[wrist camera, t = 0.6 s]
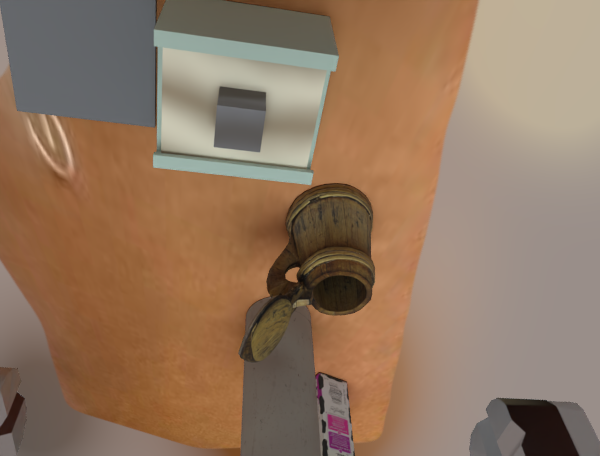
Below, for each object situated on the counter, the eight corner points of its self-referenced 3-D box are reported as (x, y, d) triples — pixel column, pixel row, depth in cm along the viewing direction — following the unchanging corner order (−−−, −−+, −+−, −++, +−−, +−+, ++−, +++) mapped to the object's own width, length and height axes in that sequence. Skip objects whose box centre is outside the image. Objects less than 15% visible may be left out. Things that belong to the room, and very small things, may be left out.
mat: (-6, -46, 43) (-8, -45, 43) (156, -21, 45) (155, -19, 45) (18, 108, 51) (17, 110, 51) (155, 125, 53) (154, 127, 53)
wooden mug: (242, 185, 58) (234, 321, 44) (375, 182, 58) (409, 315, 44) (247, 251, 63) (241, 390, 49) (368, 247, 64) (396, 384, 50)
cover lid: (165, 29, 41) (156, 53, 38) (327, 53, 43) (332, 77, 40) (163, 147, 48) (155, 176, 44) (305, 164, 49) (307, 193, 46)
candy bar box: (317, 370, 78) (327, 489, 65) (347, 380, 79) (362, 499, 67) (276, 411, 84) (278, 528, 71) (305, 420, 85) (312, 536, 73)
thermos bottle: (305, 340, 74) (320, 583, 52) (243, 336, 73) (232, 583, 51) (315, 298, 69) (337, 547, 47) (249, 293, 68) (240, 545, 46)
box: (169, -8, 45) (153, 29, 39) (329, 16, 47) (338, 55, 41) (166, 118, 53) (153, 167, 46) (306, 136, 54) (310, 184, 48)
